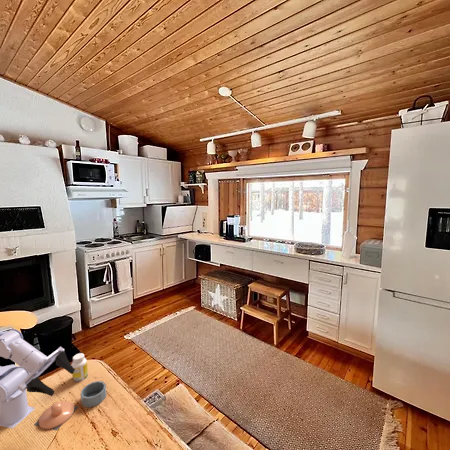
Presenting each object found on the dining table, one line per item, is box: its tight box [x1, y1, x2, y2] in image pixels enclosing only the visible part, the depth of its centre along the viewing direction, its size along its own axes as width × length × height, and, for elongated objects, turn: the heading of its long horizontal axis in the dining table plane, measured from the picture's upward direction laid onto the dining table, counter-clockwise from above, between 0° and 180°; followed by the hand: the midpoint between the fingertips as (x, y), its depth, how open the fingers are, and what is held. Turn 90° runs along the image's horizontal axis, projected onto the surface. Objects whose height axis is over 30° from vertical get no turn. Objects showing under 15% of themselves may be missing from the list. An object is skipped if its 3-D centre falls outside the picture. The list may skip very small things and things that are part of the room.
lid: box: [38, 400, 75, 430], centre depth 86 cm, size 10×10×4 cm
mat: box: [33, 405, 79, 431], centre depth 86 cm, size 9×9×1 cm
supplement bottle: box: [71, 352, 89, 383], centre depth 103 cm, size 5×5×10 cm
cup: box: [79, 380, 107, 408], centre depth 93 cm, size 8×8×4 cm
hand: (63, 382), depth 81 cm, fingers open, 7 cm apart
